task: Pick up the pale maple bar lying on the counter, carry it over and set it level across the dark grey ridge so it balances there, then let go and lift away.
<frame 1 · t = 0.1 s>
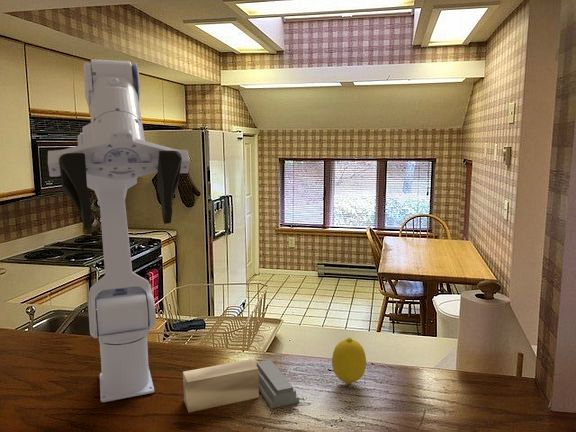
hand: (129, 219, 48), 32 cm above the breakfast bar, tool tilted 50°, fingers open, 7 cm apart
ridge: (274, 389, 78), on the breakfast bar
bar: (221, 400, 75), on the breakfast bar
lemon: (348, 385, 79), on the breakfast bar
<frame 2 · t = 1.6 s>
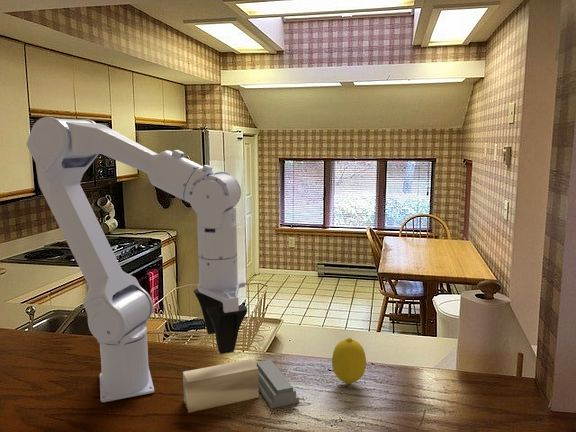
hand: (220, 342, 73), 9 cm above the breakfast bar, tool pointing down, fingers open, 7 cm apart
nothing on the breakfast bar moved.
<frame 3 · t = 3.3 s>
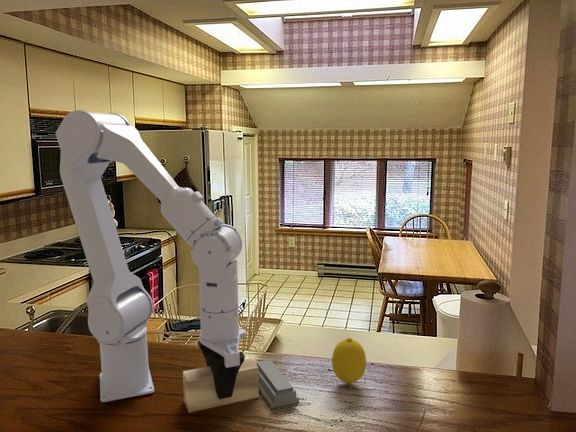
hand: (221, 390, 75), 1 cm above the breakfast bar, tool pointing down, fingers closed on bar, 4 cm apart
bar: (221, 399, 75), on the breakfast bar, touching gripper
everything else where it was.
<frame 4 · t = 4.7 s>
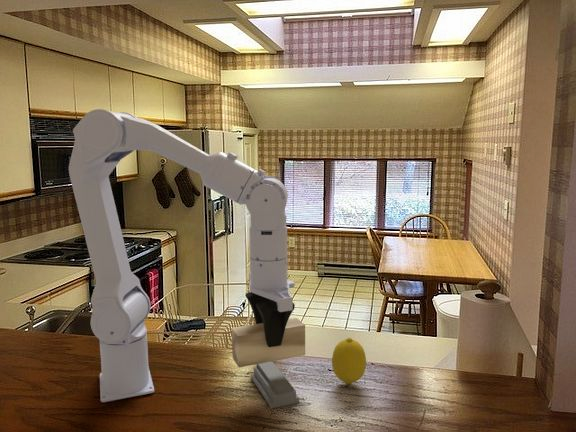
hand: (269, 340, 76), 9 cm above the breakfast bar, tool pointing down, fingers closed on bar, 3 cm apart
bar: (269, 356, 76), point 6 cm above the breakfast bar, touching gripper
everything else where it was.
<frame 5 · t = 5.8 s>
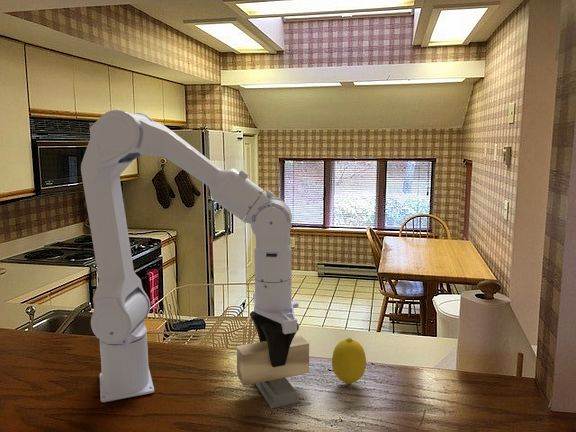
hand: (273, 359, 77), 5 cm above the breakfast bar, tool pointing down, fingers closed on bar, 3 cm apart
bar: (273, 374, 77), point 3 cm above the breakfast bar, touching gripper, ridge
everything else where it was.
when the fingers open (5 cm above the breakfast bar, at t = 6.1 s): bar stays where it is, resting on ridge.
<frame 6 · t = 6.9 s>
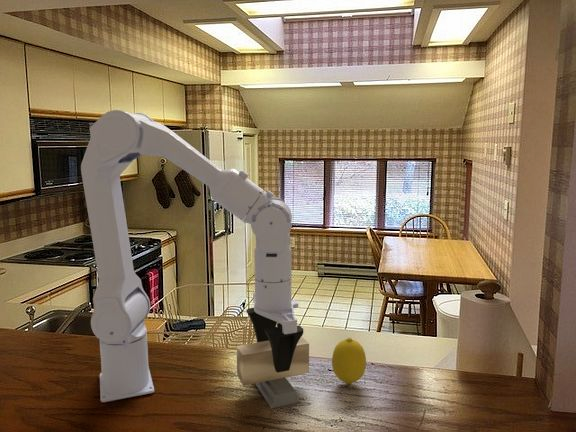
hand: (273, 359, 77), 5 cm above the breakfast bar, tool pointing down, fingers open, 7 cm apart
bar: (273, 374, 77), point 3 cm above the breakfast bar, touching ridge
everything else where it was.
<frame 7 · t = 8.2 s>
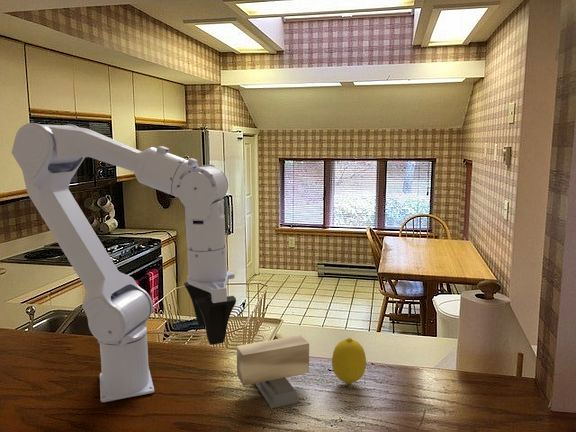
hand: (210, 333, 74), 10 cm above the breakfast bar, tool pointing down, fingers open, 7 cm apart
nothing on the breakfast bar moved.
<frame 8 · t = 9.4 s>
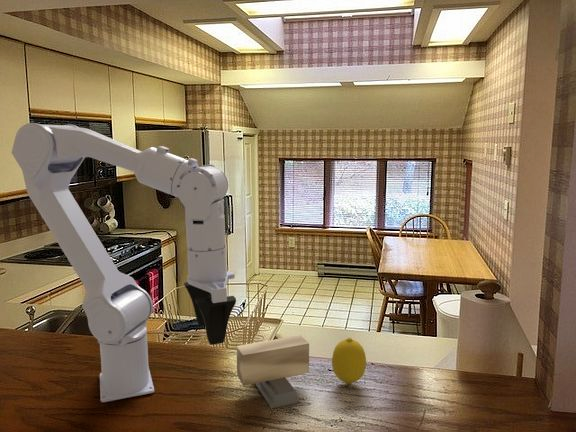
hand: (210, 333, 74), 10 cm above the breakfast bar, tool pointing down, fingers open, 7 cm apart
nothing on the breakfast bar moved.
at the end: bar 0.1 cm off-centre on the ridge, point 2.7 cm above the ridge's base; bar tilted 0°; bar touching ridge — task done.
